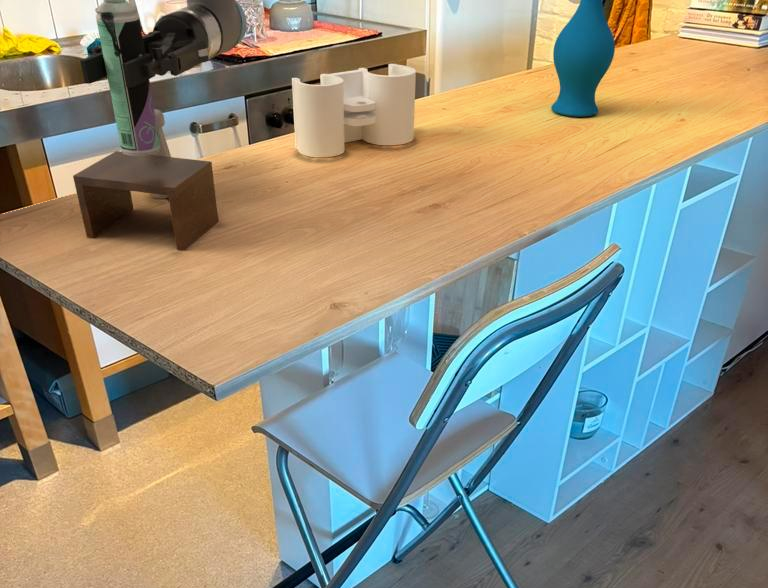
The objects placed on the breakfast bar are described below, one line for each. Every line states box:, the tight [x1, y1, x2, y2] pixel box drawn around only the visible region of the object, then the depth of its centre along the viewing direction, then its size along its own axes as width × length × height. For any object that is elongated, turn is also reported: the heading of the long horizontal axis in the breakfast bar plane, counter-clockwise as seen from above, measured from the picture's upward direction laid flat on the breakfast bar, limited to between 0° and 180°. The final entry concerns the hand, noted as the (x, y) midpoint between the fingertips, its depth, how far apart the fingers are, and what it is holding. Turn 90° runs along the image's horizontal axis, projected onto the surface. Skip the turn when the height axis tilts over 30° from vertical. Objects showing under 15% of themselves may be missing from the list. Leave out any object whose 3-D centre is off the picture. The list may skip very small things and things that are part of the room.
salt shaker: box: [148, 108, 172, 200], centre depth 132 cm, size 6×6×13 cm
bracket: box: [291, 63, 417, 158], centre depth 154 cm, size 25×10×12 cm, turn 124°
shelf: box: [72, 150, 219, 251], centre depth 121 cm, size 16×12×9 cm
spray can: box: [94, 0, 160, 156], centre depth 110 cm, size 6×6×20 cm
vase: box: [550, 0, 616, 118], centre depth 169 cm, size 12×13×28 cm
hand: (106, 73), depth 106 cm, fingers closed on spray can, 5 cm apart
